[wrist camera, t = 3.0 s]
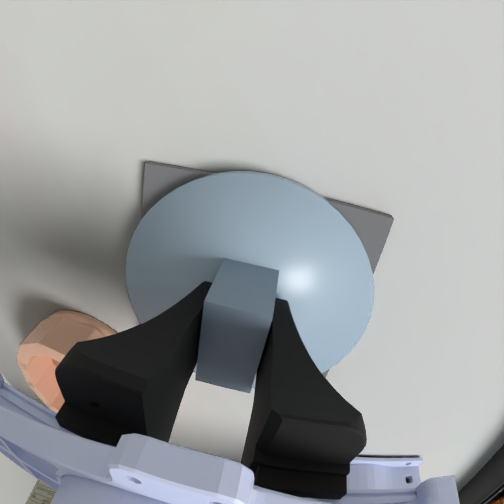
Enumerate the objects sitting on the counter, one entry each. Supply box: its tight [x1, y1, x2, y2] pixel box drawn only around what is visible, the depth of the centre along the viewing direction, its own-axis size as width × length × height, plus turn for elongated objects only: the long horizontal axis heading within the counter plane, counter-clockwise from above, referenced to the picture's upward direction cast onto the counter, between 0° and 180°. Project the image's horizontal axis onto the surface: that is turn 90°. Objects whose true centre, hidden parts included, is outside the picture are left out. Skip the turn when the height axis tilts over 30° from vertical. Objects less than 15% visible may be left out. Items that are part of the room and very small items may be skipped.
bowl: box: [16, 310, 117, 413], centre depth 17 cm, size 9×9×3 cm
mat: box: [141, 161, 394, 377], centre depth 14 cm, size 10×10×1 cm
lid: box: [125, 171, 374, 393], centre depth 12 cm, size 11×11×4 cm
